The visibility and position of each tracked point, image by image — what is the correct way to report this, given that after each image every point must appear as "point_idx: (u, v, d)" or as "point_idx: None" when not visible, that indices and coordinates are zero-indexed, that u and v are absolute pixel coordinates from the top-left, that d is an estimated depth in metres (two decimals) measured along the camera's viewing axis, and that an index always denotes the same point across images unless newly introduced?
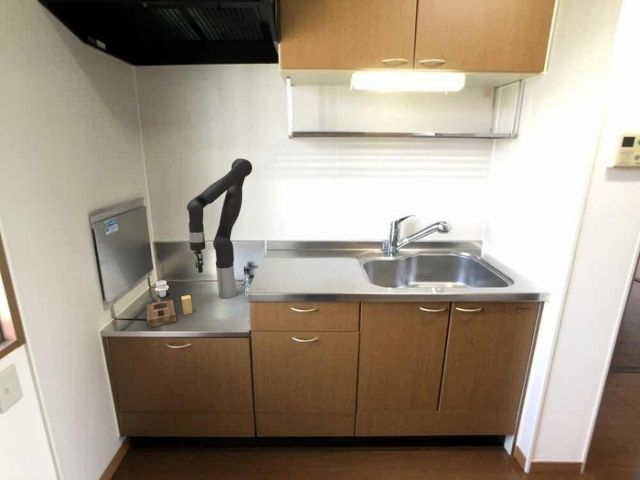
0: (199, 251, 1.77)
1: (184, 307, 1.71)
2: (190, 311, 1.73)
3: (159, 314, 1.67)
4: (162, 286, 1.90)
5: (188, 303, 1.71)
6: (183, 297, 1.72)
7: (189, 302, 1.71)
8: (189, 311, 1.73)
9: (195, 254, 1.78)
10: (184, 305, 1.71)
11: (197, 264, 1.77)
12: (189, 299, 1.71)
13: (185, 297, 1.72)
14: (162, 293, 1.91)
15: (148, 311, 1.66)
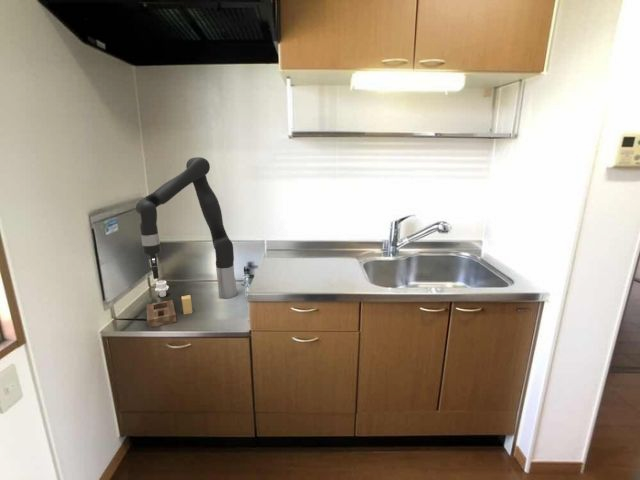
0: (153, 255, 1.61)
1: (184, 307, 1.71)
2: (190, 311, 1.73)
3: (159, 314, 1.67)
4: (162, 286, 1.90)
5: (188, 303, 1.71)
6: (183, 297, 1.72)
7: (189, 302, 1.71)
8: (189, 311, 1.73)
9: (149, 259, 1.63)
10: (184, 305, 1.71)
11: None
12: (189, 299, 1.71)
13: (185, 297, 1.72)
14: (162, 293, 1.91)
15: (148, 311, 1.66)
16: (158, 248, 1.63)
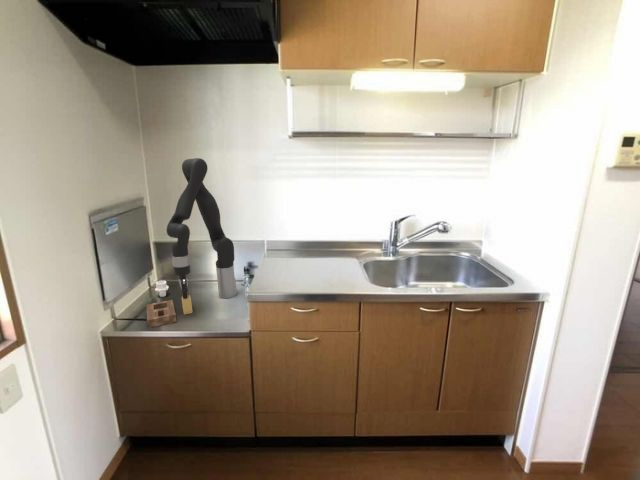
0: (183, 276, 1.66)
1: (184, 307, 1.71)
2: (190, 311, 1.73)
3: (159, 314, 1.67)
4: (162, 286, 1.90)
5: (188, 303, 1.71)
6: None
7: (189, 302, 1.71)
8: (189, 311, 1.73)
9: (179, 279, 1.67)
10: (184, 305, 1.71)
11: (181, 290, 1.66)
12: (189, 299, 1.71)
13: None
14: (162, 293, 1.91)
15: (148, 311, 1.66)
16: (188, 269, 1.67)
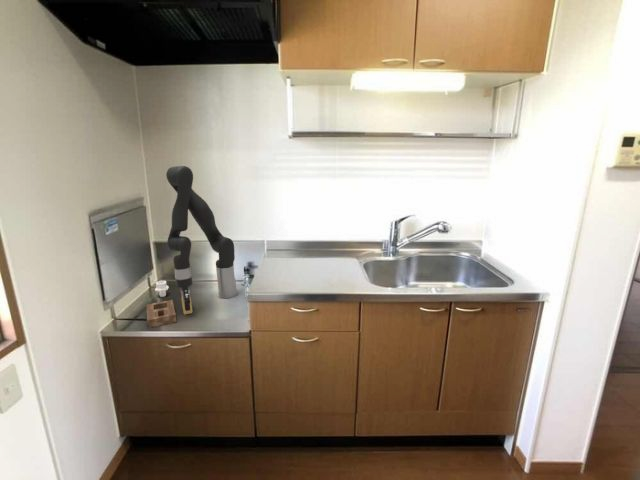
0: (186, 288, 1.67)
1: (184, 307, 1.71)
2: (190, 311, 1.73)
3: (159, 314, 1.67)
4: (162, 286, 1.90)
5: None
6: None
7: None
8: (189, 311, 1.72)
9: (182, 292, 1.69)
10: (184, 305, 1.71)
11: (184, 302, 1.69)
12: None
13: None
14: (162, 293, 1.91)
15: (148, 311, 1.66)
16: (190, 281, 1.69)
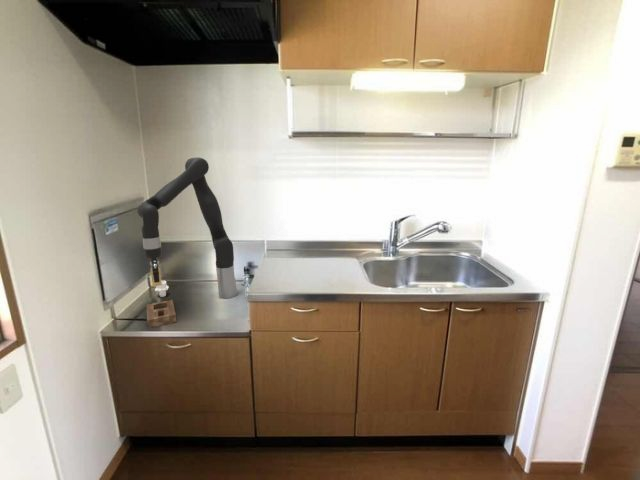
0: (154, 258, 1.62)
1: (153, 279, 1.65)
2: (159, 283, 1.67)
3: (159, 314, 1.67)
4: (162, 286, 1.90)
5: None
6: None
7: None
8: (158, 283, 1.67)
9: (150, 262, 1.63)
10: (153, 276, 1.65)
11: None
12: (158, 270, 1.65)
13: None
14: (162, 293, 1.91)
15: (148, 311, 1.66)
16: (159, 251, 1.63)
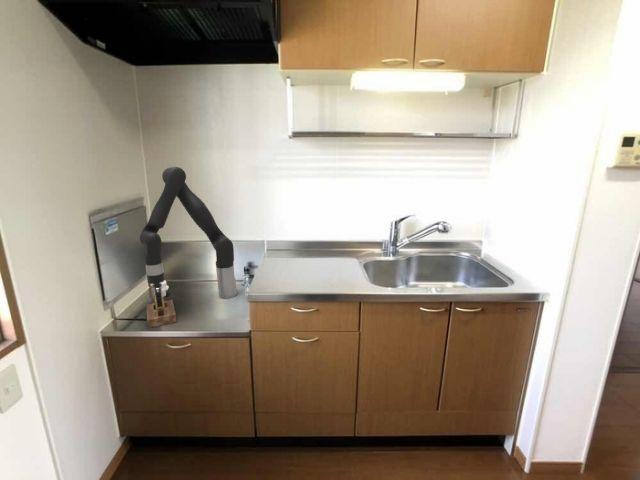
0: (157, 284, 1.65)
1: None
2: None
3: (159, 314, 1.67)
4: (162, 286, 1.90)
5: None
6: None
7: (162, 303, 1.70)
8: None
9: (153, 287, 1.67)
10: (157, 307, 1.69)
11: None
12: (162, 300, 1.70)
13: None
14: (162, 293, 1.91)
15: (148, 311, 1.66)
16: (162, 277, 1.67)
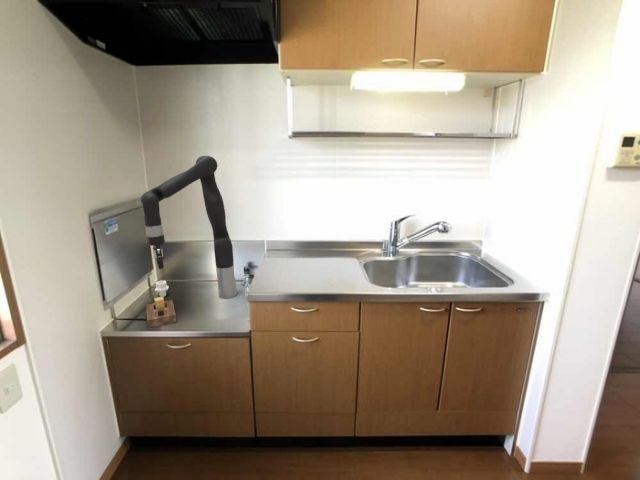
0: (158, 246, 1.66)
1: None
2: None
3: (159, 314, 1.67)
4: (162, 286, 1.90)
5: (161, 305, 1.70)
6: (156, 298, 1.71)
7: (162, 303, 1.70)
8: None
9: (154, 249, 1.67)
10: (157, 307, 1.69)
11: None
12: (162, 300, 1.70)
13: (157, 299, 1.70)
14: (162, 293, 1.91)
15: (148, 311, 1.66)
16: (162, 239, 1.67)
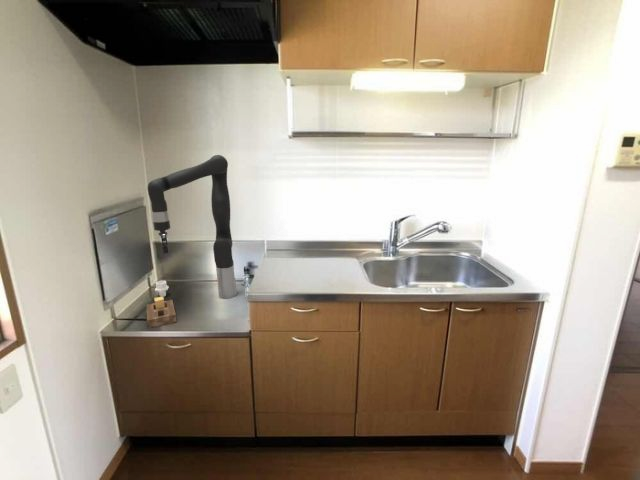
0: (163, 231, 1.73)
1: None
2: None
3: (159, 314, 1.67)
4: (162, 286, 1.90)
5: (161, 305, 1.70)
6: (156, 298, 1.71)
7: (162, 303, 1.70)
8: None
9: (159, 234, 1.74)
10: (157, 307, 1.69)
11: None
12: (162, 300, 1.70)
13: (157, 299, 1.70)
14: (162, 293, 1.91)
15: (148, 311, 1.66)
16: (168, 225, 1.74)
